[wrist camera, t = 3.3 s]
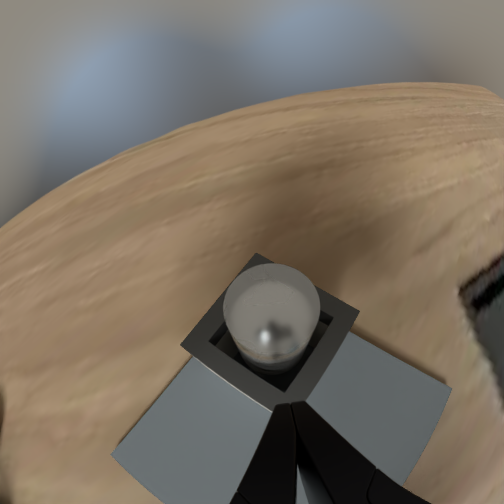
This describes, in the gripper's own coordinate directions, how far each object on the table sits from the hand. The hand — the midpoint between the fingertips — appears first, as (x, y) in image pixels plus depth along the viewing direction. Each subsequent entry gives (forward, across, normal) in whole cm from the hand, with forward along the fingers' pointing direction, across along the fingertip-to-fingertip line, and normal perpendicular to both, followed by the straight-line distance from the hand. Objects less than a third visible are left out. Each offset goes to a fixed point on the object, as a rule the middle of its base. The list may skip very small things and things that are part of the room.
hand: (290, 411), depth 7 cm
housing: (+13, 0, +7) cm, 14 cm away
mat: (+8, 0, +12) cm, 14 cm away
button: (+9, 0, +3) cm, 9 cm away
